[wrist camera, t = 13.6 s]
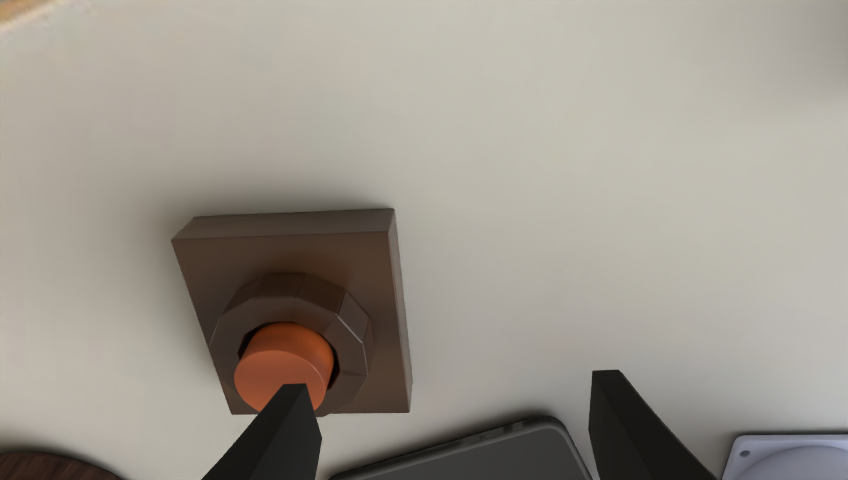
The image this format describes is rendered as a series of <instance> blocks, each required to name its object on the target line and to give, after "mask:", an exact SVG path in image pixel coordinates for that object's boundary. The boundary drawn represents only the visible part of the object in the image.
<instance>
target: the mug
mask: <svg viewBox="0 0 848 480" xmlns="http://www.w3.org/2000/svg"><path fill="white" fill-rule="evenodd" d="M0 480H121V479H120V478H118V477H117V476H115V475H113V474H112V473H110V472H107V471H105V470H102V469H100V468H97V467H95V466H92V465H90V464H87V463H84V462H82V461H79V460H77V459H72V458H67V457H62V456H57V455H52V454H47V453H42V452H37V453H4V454H0Z"/></svg>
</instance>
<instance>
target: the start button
mask: <svg viewBox="0 0 848 480" xmlns="http://www.w3.org/2000/svg"><path fill="white" fill-rule="evenodd" d="M333 365H334V356H333V352H332V349H331V347H330V346H329V344H328V342H327V341H326V340H325V339H324V338H323V337H322V336H321V335H320V334H319V333H317V332H316V331H314V330H312V329H309V328H307V327H305V326H302V325H300V324H297V323H291V322H278V323H273V324H270V325H267V326H265V327H263V328H261V329H260V330H258V331H257V332H256V333H255V334H254V336H253V337H252V339H251V341H250V343H249V345H248V346H247V348H246V350H245V352H244V354H243V356H242V358H241V359H240V361H239V363H238V365H237V367H236V369H235V372H234V383H235V387H236V389H237V391H238V393H239V395H240V396H241V397H242V399H243V400H244V401H245V402H246V403H248V404H249V405H250V406H251V407H253V408H254V409H256V410H258V411H260V412H261V410H262V409H263V408H264V407H265V405H266V404H267V403H268V402H269V400H270V399H271V398H272V397H273V396H274V394H275V393H276V392H277V391H278V390H279V388H280V387H281V386H282V385H283V384H297V383H306V385H307V388H308V391H309V395H310V398H311V402H312V405H313V409H314V410H315V409H317V408H318V407H319V405H320V404H321V403H322V401H323V399H324V396H325V393H326V390H327V386H328V383H329V379H330V376H331V373H332V369H333Z"/></svg>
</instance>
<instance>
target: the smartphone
mask: <svg viewBox="0 0 848 480" xmlns="http://www.w3.org/2000/svg"><path fill="white" fill-rule="evenodd" d="M328 480H593V479H592V477H591V475H590V473H589V471H588V469H587V467H586V465H585V464H584V462H583V460H582V458H581V456H580V454H579V452H578V450H577V448H576V446H575V444H574V442H573V440H572V438H571V436H570V434H569V432H568V431H567V429H566V427H565V425H564V424H563V423H562V422H561V421H560V420H558V419H557V418H555V417H552V416H539V417H535V418H532V419H528V420H525V421H521V422H517V423H514V424H511V425H507V426H504V427H500V428H497V429H493V430H490V431H486V432H483V433H480V434H476V435H472V436H469V437H465V438H462V439H459V440H455V441H452V442H448V443H445V444H442V445H438V446H435V447H431V448H428V449H424V450H421V451H417V452H414V453H410V454H407V455H404V456H400V457H397V458H393V459H390V460H386V461H383V462H379V463H376V464H372V465H369V466H366V467H362V468H359V469H355V470H352V471H348V472H345V473H341V474H338V475H334V476H332V477H331V478H330V479H328Z"/></svg>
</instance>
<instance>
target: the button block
mask: <svg viewBox="0 0 848 480" xmlns="http://www.w3.org/2000/svg"><path fill="white" fill-rule="evenodd" d="M171 242H172V245H173V248H174V251H175V254H176V257H177V260H178V263H179V265H180V268H181V271H182V274H183V277H184V280H185V283H186V286H187V288H188V291H189V294H190V297H191V300H192V303H193V306H194V308H195V311H196V314H197V317H198V320H199V323H200V326H201V329H202V331H203V334H204V337H205V340H206V343H207V346H208V349H209V352H210V354H211V357H212V360H213V363H214V366H215V369H216V372H217V375H218V377H219V380H220V383H221V386H222V389H223V392H224V395H225V397H226V400H227V403H228V406H229V409H230V412H231V414H232V415H246V414H259V413H260V411H258V410H256V409H254V408H253V407H251V406H250V405H249V404H248V403H246V402H245V401H244V400H243V399H242V397H241V396H240V395H239V393H238V391H237V389H236V387H235V383H234V372H235V369H236V367H237V365H238V363H239V361H240V359H241V358H242V356H243V354H244V352H245V350H246V348H247V346H248V345H249V343H250V341H251V339H252V337H253V336H254V334H255V333H256V332H257V331H258V330H260V329H261V328H263V327H265V326H267V325H270V324H273V323H278V322H291V323H297V324H300V325H302V326H305V327H307V328H309V329H312V330H314V331H316V332H317V333H319V334H320V335H321V336H322V337H323V338H324V339H325V340H326V341H327V342H328V344H329V346H330V347H331V349H332V352H333V356H334V365H333V369H332V373H331V376H330V379H329V383H328V386H327V390H326V393H325V396H324V399H323V401H322V403H321V404H320V405H319V407H318V408H317V409H315V410H314V412H315V416H316V417H324V416H326V415H328V414H342V413H409V412H410V405H411V394H412V384H413V378H412V369H411V359H410V350H409V340H408V331H407V321H406V312H405V302H404V293H403V284H402V274H401V265H400V255H399V246H398V236H397V227H396V217H395V210H394V209H375V210H350V211H326V212H302V213H278V214H253V215H229V216H205V217H194V218H193V219H192V220H191V221H190V222H189V223H188V224H187V225H186V226H185V227H184V228H182V229H181V230H180V231H179V232H178V233H177V234H176V235H175V236H174V237H173V238H172V239H171Z"/></svg>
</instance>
